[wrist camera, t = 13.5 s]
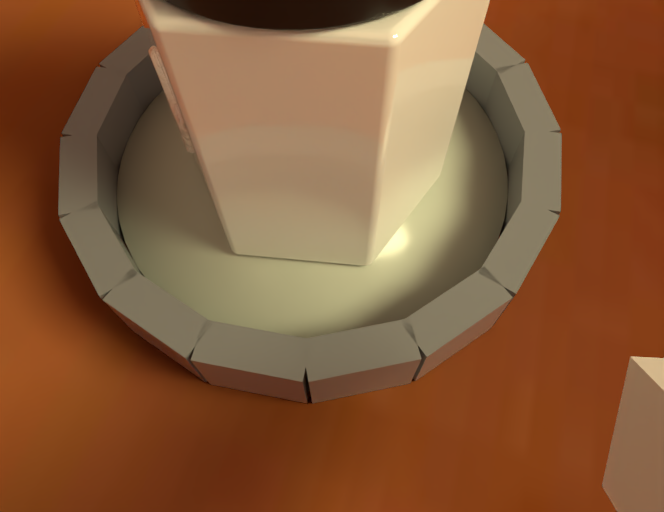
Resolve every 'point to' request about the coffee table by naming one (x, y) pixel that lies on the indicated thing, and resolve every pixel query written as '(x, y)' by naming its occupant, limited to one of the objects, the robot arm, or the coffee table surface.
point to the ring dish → (299, 275)
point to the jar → (314, 112)
